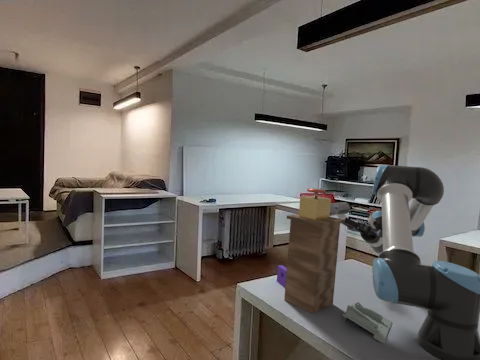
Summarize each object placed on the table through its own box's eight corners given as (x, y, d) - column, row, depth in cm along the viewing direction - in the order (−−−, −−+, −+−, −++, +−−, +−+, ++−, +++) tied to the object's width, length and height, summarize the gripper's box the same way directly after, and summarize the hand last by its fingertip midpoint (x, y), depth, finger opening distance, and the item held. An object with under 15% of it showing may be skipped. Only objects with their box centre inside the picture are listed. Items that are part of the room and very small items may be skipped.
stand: (304, 290, 124) (310, 212, 122) (336, 304, 114) (344, 219, 111) (280, 299, 114) (286, 215, 112) (313, 315, 104) (321, 223, 102)
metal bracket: (342, 311, 97) (354, 294, 109) (335, 327, 98) (348, 309, 111) (390, 340, 90) (398, 319, 102) (382, 357, 91) (390, 335, 103)
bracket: (284, 288, 125) (286, 271, 124) (276, 282, 131) (277, 265, 131) (311, 286, 129) (312, 269, 129) (302, 279, 136) (303, 263, 135)
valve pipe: (335, 212, 127) (338, 187, 127) (352, 215, 122) (354, 189, 121) (298, 217, 111) (300, 188, 110) (316, 220, 106) (318, 191, 105)
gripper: (398, 251, 133) (381, 230, 120) (343, 237, 152) (323, 217, 138) (403, 234, 135) (387, 212, 122) (348, 222, 154) (329, 202, 140)
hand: (353, 215), depth 130 cm, fingers open, 13 cm apart
